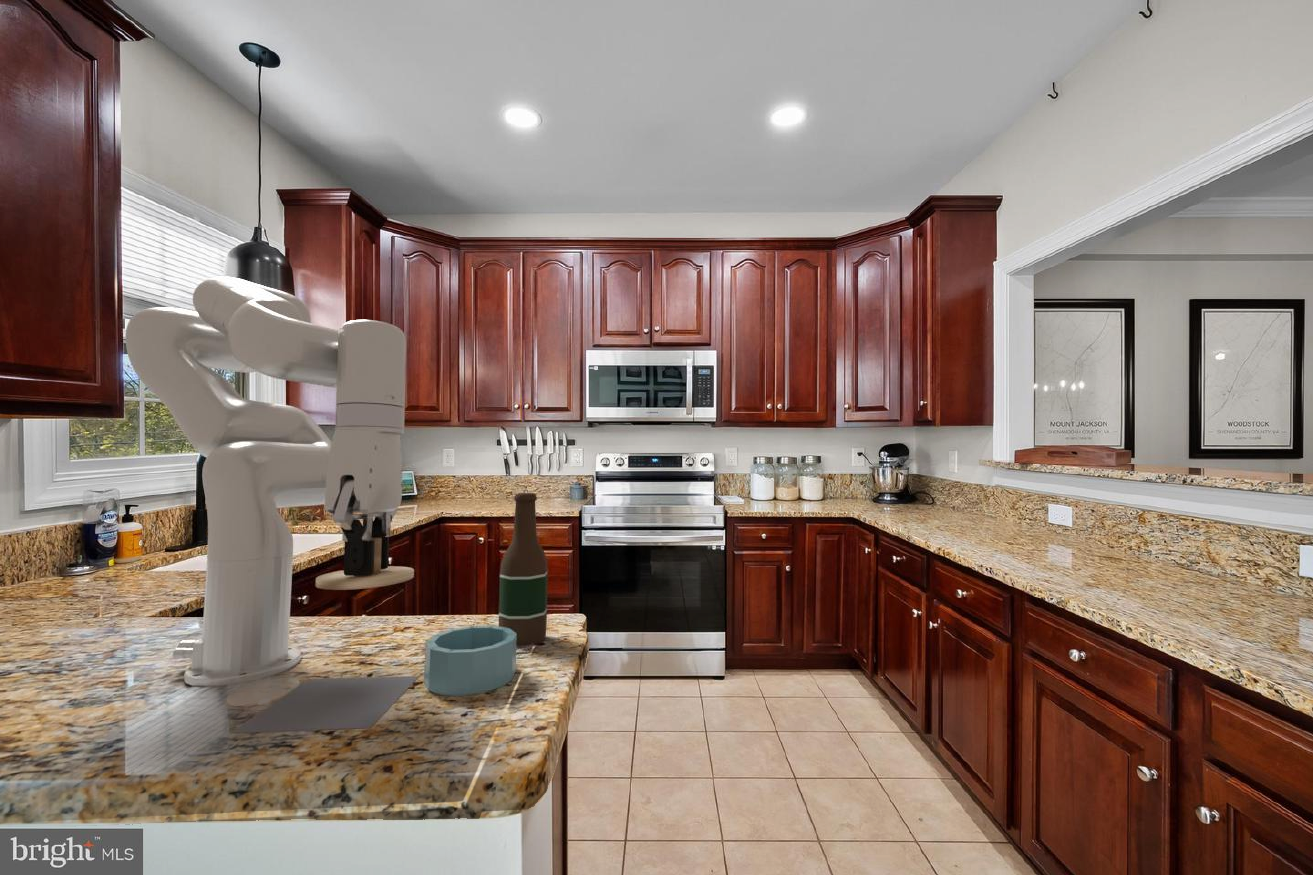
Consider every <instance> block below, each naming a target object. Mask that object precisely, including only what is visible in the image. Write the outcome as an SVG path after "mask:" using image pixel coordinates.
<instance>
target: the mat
mask: <svg viewBox="0 0 1313 875" xmlns="http://www.w3.org/2000/svg"><path fill="white" fill-rule="evenodd" d="M418 678H420V676H419V675H413V676H412V675H411V676H410V675H408V676H407V675H406V676H374V677H370V676H369V677H343V678H342V677H337V678H334V677H333V678H308V679H306V680H305V681H303V682H302V683H301V684H299V685H297V686H296V687H295V688H293V689H292V690H290V691H289V692H288V693H286V694H284V695H282V697H279V699H277V700H276V701H274V702H273V703H271V704H269V705H268V706H267V707H265V708H264V709H263V710H261V711H259V712H258V713H257V714H255V715H253V717H251V718H249V719H248V720H246V721H245V722H244V723H242V724H241V725H239V726H238V727H236V728H235V729H233V730H232V731H230V732H229V734H248V733H250V734H252V733H255V734H256V733H279V732H282V733H283V732H306V731H307V732H308V731H309V732H310V731H331V730H332V731H335V730H337V731H338V730H362V729H363V730H365V729H367V730H368V729H372V727H373V726H374V725H375V724H376V723H378V721H379V720H380V719H381V718H382V717H383V716H384V715H385V714H386V713H387V712H388V710H389V709H390V708H392V706H393V705H394V704H395V703H396V702H398V700H399V699H400V698H401V697H402V696H403V695H404V693H405V692H406V691H408V690H409V688H411V686H412V685H413V684H414V682H416V680H418Z"/></svg>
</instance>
